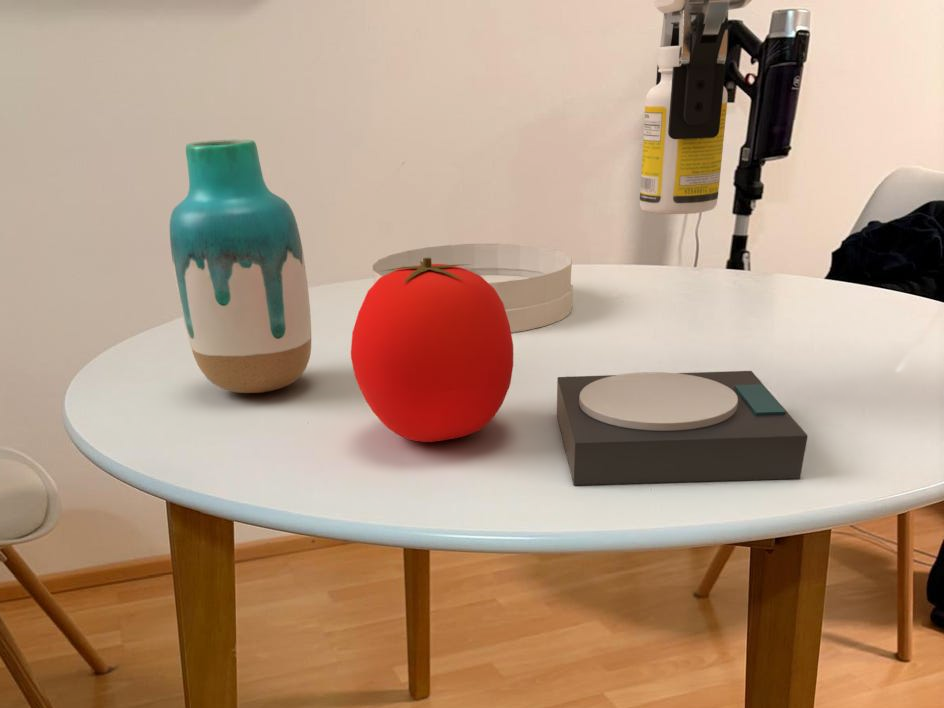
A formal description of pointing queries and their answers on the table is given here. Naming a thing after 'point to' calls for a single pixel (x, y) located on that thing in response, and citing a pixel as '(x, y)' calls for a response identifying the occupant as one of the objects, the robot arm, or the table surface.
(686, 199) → the supplement bottle
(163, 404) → the table surface
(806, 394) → the table surface
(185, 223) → the vase
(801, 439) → the scale
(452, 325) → the tomato
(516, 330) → the dish
